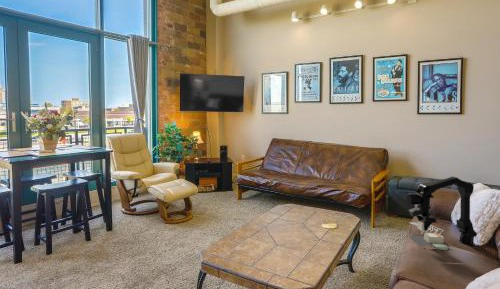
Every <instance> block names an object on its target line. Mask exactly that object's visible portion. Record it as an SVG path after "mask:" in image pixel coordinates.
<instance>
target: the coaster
mask: <svg viewBox="0 0 500 289" xmlns="http://www.w3.org/2000/svg"><path fill="white" fill-rule="evenodd" d="M444 244H445V243H443V244H440V243H433V245H432V246H433V247H434V248H436V249H439V250H438V251H449V250H448V249H449V248H450V247H449V246H448V245H446V244H445V245H444Z"/></svg>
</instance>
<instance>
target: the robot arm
mask: <svg viewBox="0 0 500 289" xmlns="http://www.w3.org/2000/svg"><path fill="white" fill-rule="evenodd" d="M453 185H454V186H456V187H457V191H458V193H459V195H460V217H459V219H456V227H457V229H458V231H459V232H460V235H459V240H458V241H459V242H460V243H461V244H463V245H465V246H466V245H467V246H472V247H473V246H474V247H475V246H476V244H475V243H474V238H475V237H477V235H478V232H476V231H475V229H474V225H473V222H472V220H471V196H472V194H473V192H474V185H473V184H472V183H471V182H468V181H465V180H462V179H460V178H459V177H456V176H449V177H447V178H444V179H441V180H436V181H434V182H422V183H420V184H419V186H418V188H417V189H415V192H414V193H408V195H407V196H406V199H405V200H406V204H407V205H411V206H412V205H415V206H417V207H413V208H410V209H408V212H409V214H410V216H412V217H413V218H414V217H416V218H417V221H418V220H422V221H423V222H424V230H425V231H427V229H428V228H429V226H430V225H432V224H433V223H437V218H436V217H434V216H432V214H431V213H430V210H431V209H432V207H431V206H430V205H431V198H432V199H433V198H435V196H434V195H433V193H435V192H436V191H437V190H440V189H444V188H446V187H450V186H453Z"/></svg>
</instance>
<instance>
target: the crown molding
mask: <svg viewBox="0 0 500 289" xmlns="http://www.w3.org/2000/svg"><path fill="white" fill-rule="evenodd" d="M409 224H411V225H412V226H414V227H417V225H418V222H409ZM431 226H432V227H431ZM429 227H430V228H429V231H430V232H429V233H432V232H433V231H434V232H433V233H434V234H438V233H439V232H440V233H439V234H440V235H441V234H442V233H443V232H444V231H445V230H444V229H441V228H439V227H436V226H434V225H432V224H431V225H430V226H429ZM433 227H435V228H437V229H435V228H433ZM431 228H432V230H431ZM433 229H434V230H433ZM438 229H439V230H442V231H439V230H438ZM425 233H428V232H425ZM422 234H424V232H422V231H421V233H420V235H422Z"/></svg>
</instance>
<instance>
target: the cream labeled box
mask: <svg viewBox="0 0 500 289" xmlns="http://www.w3.org/2000/svg"><path fill="white" fill-rule="evenodd" d="M434 233H435V232H433V233H432V232H431V233H430V232H427V233H426V232H423V236H424V239H425V240H426V241H427V242H428V243H443V244H444V242H445V241H444V240H445V237H444V236H443V235H441V234H440V233H436V234H434Z"/></svg>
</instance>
